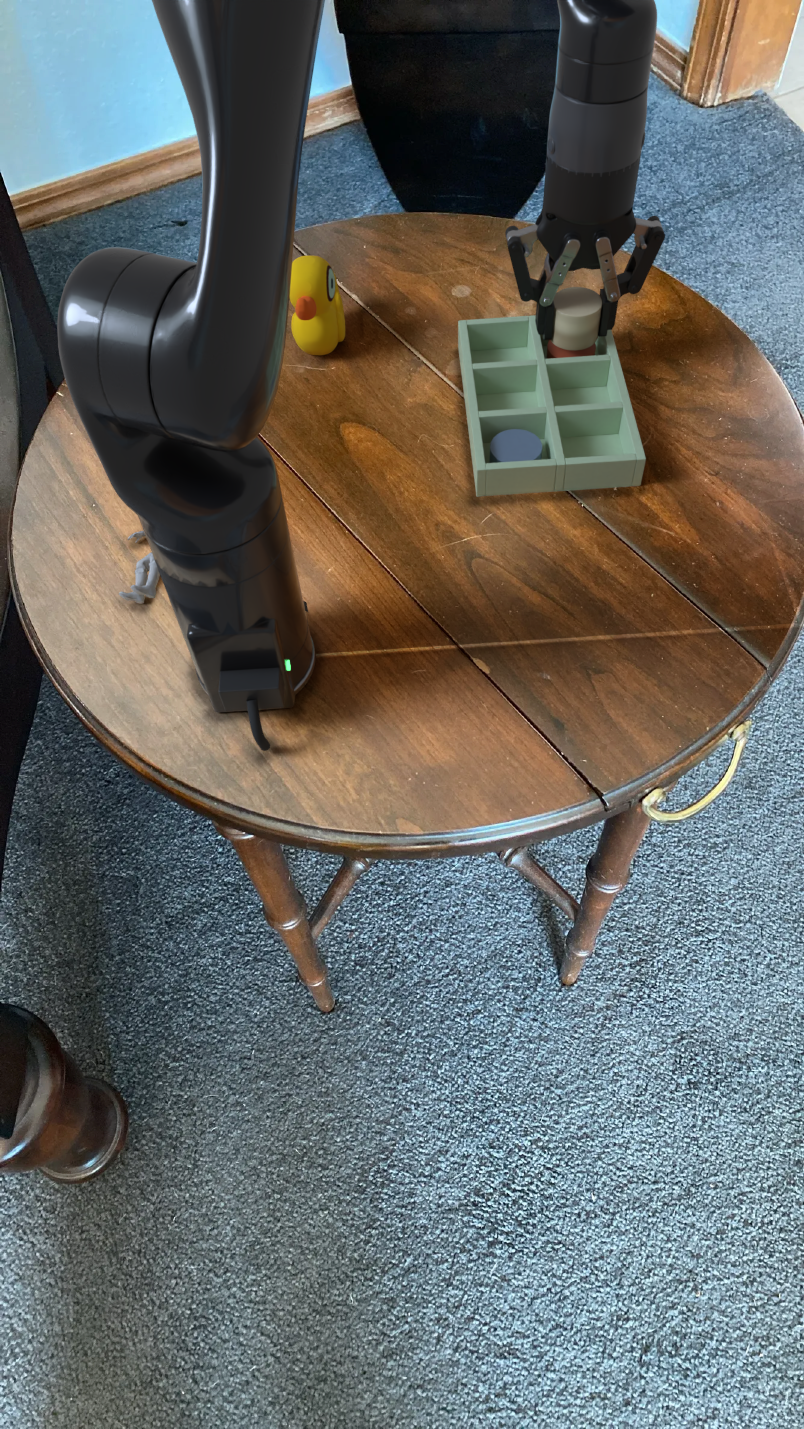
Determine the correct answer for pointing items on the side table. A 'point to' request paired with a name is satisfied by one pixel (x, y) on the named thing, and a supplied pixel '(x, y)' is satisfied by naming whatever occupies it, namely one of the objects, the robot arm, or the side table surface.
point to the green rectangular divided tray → (546, 410)
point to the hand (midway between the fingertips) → (573, 332)
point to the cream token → (576, 318)
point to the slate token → (515, 446)
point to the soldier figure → (143, 577)
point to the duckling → (316, 306)
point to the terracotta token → (568, 351)
